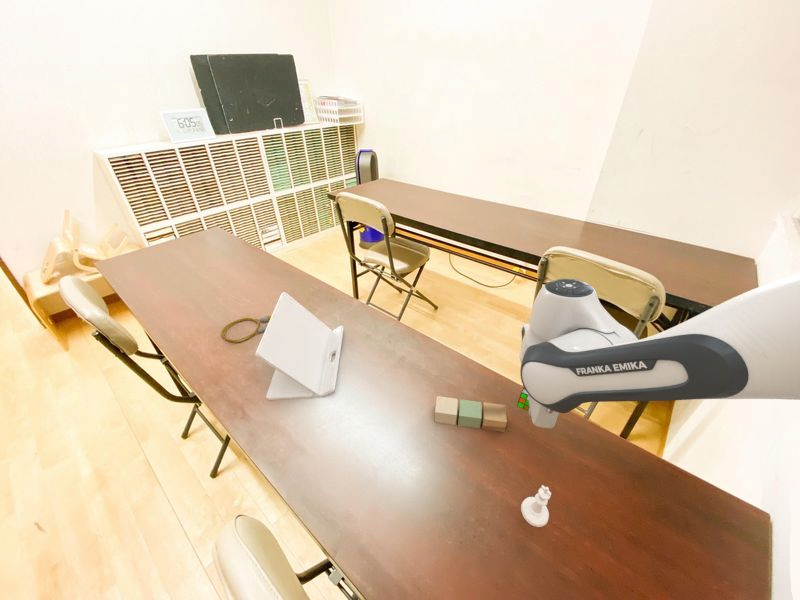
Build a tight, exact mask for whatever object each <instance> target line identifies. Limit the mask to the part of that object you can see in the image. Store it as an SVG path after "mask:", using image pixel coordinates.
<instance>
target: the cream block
mask: <svg viewBox="0 0 800 600" xmlns="http://www.w3.org/2000/svg"><path fill="white" fill-rule="evenodd" d="M458 403H459V399H458V398H455V397H447V396H439V395H437V396H436V401H435V409H434V423H439V424H446V425H452V426H456V425H457V418H458V406H459V404H458Z"/></svg>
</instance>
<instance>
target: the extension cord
mask: <svg viewBox="0 0 800 600" xmlns="http://www.w3.org/2000/svg"><path fill="white" fill-rule="evenodd" d="M271 316H272V315H265V316H263V317H259V319H257V318H252V317H244V318H243V317H242V318H240V319H236V320H234V321H232V322H230V323H228V324H226V325H225V326H224V327H223V328H222V329H221V332H220V334H221V337H222V338H223V340H225V341H227V342H229V343H233V344H236V343H240V342H241V343H242V342H245V341H247V340H249V339H251V338H253V337H254V336H255V334H257V333H259V334H260V333H263V332H265V330H266V328H267V325H268V323H267V324H264V325H262V326H261V324H260V323H261V322H262V323H263V322H269V321H270V319H271ZM247 320H248V321H252V322H254V323H256V324H257V327H256V328H255V330H254V332H253V333H251V334H249V335H247V336H245V337H243V338H239V339H230V338H227V337H226V333H227V332H228V330H229V329H230V328H231V327H233V326H234V325H236V324H238V323H240V322H244V321H247ZM259 322H260V323H259Z"/></svg>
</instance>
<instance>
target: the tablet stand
mask: <svg viewBox="0 0 800 600" xmlns="http://www.w3.org/2000/svg"><path fill="white" fill-rule="evenodd" d="M270 316H271V319H270V320H269V321H268V323H267V324H268V325H267V328H266V330H265V331H263V332H264V333H263V335H262V337H261V339H260V342H259V344H258V346H257V348H256V351H255V356H256V357H257V358H258V359H259V360H260V361H262V362H263V363H265V364H266V365H268V366H270V367H272V368H273V369H274V372H273V375H272V378H271V380H270V384H269V387H268V390H267V392H266V395H265V399H266V400H267V401H281V400H282V401H283V400H297V399H298V400H299V399H300V400H301V399H314V398H315V399H316V398H318V399H319V398H324V397H326V396H327V395H330V394H332V393H333V392H334V391H335V389H336V386H337V385H336V384H337V377H338V371H339V364H340V357H341V352H342V351H341V350H342V343H343V337H344V328H345V327H344V326H343V325H338V326H337V327H336V328H334V329H331V328H330V327H329V326H327V324H325V323H324V322H322V320H320V319H319V318H318V317H317V316H315V315H314V314H313V313H311V311H310V310H309V309H307V308H305V306H303V305H302V304H301V303H300V302H298V301H297V300H296V299H295V298H294V297H292V296H291V295H290V294H288V293H287V292H286V291H283V292H281V294H280V295H279V298H278V300H277V303H276V305H275V307H274V310H273V311H272V314H271V315H270ZM334 354H335V355H334ZM333 355H334V359H333V360H332V357H333Z"/></svg>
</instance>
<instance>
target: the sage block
mask: <svg viewBox="0 0 800 600" xmlns="http://www.w3.org/2000/svg"><path fill="white" fill-rule="evenodd" d="M458 403H459V404H458V412H457V418H458V420H457V426H460V427H466V428H474V429H481V425H482V402H481V401H476V400H469V399H462V398H461V399H459V402H458Z"/></svg>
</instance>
